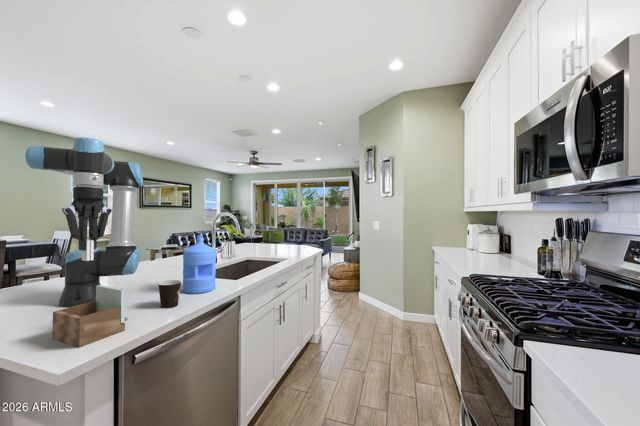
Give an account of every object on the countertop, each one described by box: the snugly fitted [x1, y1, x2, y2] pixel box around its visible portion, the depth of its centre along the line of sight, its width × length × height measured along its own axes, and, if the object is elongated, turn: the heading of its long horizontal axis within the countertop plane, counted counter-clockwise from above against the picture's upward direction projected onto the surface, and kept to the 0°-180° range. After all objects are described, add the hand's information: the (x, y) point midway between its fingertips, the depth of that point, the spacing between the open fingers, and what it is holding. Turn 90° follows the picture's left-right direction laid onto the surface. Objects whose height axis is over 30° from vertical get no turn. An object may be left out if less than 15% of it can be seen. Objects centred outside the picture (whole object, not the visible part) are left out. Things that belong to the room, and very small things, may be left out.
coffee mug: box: [157, 279, 182, 309], centre depth 119 cm, size 12×9×10 cm
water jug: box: [182, 235, 217, 295], centre depth 142 cm, size 16×16×28 cm
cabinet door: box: [96, 285, 129, 323], centre depth 96 cm, size 2×14×11 cm, turn 68°
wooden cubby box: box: [52, 301, 126, 348], centre depth 90 cm, size 14×13×8 cm
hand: (87, 260), depth 89 cm, fingers closed
